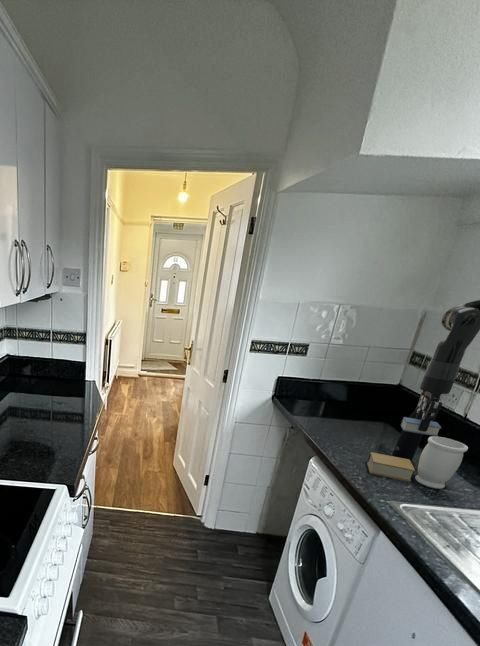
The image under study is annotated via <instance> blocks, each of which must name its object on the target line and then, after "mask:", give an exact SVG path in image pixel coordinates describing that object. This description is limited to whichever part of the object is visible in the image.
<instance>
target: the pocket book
mask: <svg viewBox="0 0 480 646" xmlns="http://www.w3.org/2000/svg"><path fill="white" fill-rule="evenodd" d="M420 422H421V420H419V419H413V418H409V417H407V416H403V418H402V420H401V423H400V427H401V430H402V429H403V430H404V431H408V432H414V433H420V434H423V435H427V436H431V437H433V436H435V437H439V431H440V429H442V426H441V424H439V423H438V421H433V420H432V421H431V422H430V424H429V427H428V429H427V431H426V432H423V431H419V430H418V427H419V425H420Z"/></svg>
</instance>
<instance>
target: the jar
mask: <svg viewBox="0 0 480 646" xmlns="http://www.w3.org/2000/svg"><path fill="white" fill-rule="evenodd" d="M468 449H469V447H468V445H466V444H465V443H463V442H461V441H458V440H455V439H452V438H448V437H442V436H429V437H428V438H427V444H425V447H424V448H423V449H422V452H421V453H420V456H419V460H418V461H419V462H418V464H417V475H415V476H414V480H416V482H417V483H419V484H421V485H423V486H426V487H428V488H432V489H444V488H445V487H446V483H447V482H448V481H449V480H450V479H452V477H453V476H454V475H455V473H456V472H457V471H458V469H459V468H460V466H461V464H462V461H463V458H464V453H466V452H467V451H468Z"/></svg>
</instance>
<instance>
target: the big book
mask: <svg viewBox="0 0 480 646" xmlns="http://www.w3.org/2000/svg"><path fill="white" fill-rule="evenodd" d="M366 464H367V468H368V472H369V474H371V475H376V476H380V477H386V478H391V479H395V480H400V481H404V482H409V483H410V482H411V481H412V480H411V478H412V476H413V474H414V472H415V471H416V469H415V467H414V466H413V463H412V462H411V461H410V459H405V458H400V457H395V456H392V455H390V454H384V453H380V452H374V451H370V453H369V455H368V458H367V461H366Z"/></svg>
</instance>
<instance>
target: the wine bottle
mask: <svg viewBox="0 0 480 646" xmlns="http://www.w3.org/2000/svg"><path fill="white" fill-rule="evenodd" d="M422 392H426V391H424V390H422ZM417 405H418V403H417V404H416V407H415V409H414V411H413V412H412V413H411V414H410V415H409V416H408V418H413V419H416V416H417V414H418V413H417V409H416V408H417ZM423 436H424V434H420V433H414V432H408V431H404V430H403V429H402V428H401V431H400V434H399V436H398V439H397V441H396V444H395V446H394V449H393V451H392V454H391V456H395V457H400V458H405V459H410V461H411V463H412V462H413V459H414V457H415V454H416V452H417V450H418V448H419V445H420V444H421V441H422V439H423Z"/></svg>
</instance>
